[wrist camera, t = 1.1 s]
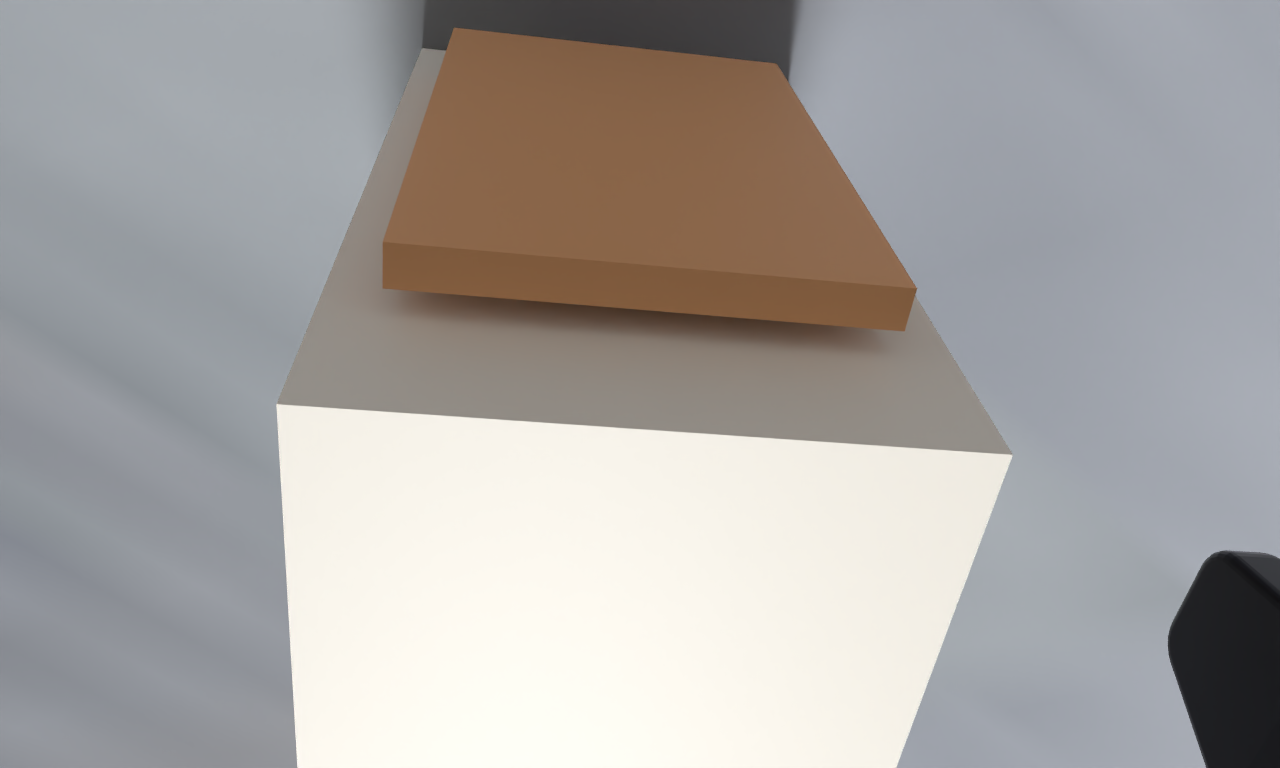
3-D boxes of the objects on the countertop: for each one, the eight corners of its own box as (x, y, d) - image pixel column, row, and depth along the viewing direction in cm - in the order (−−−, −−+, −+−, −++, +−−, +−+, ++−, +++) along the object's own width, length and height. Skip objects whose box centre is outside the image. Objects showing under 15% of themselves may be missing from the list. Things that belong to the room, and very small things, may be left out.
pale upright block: (422, -1, 11) (271, 320, 5) (797, 42, 12) (1040, 380, 6) (414, 368, 14) (303, 879, 8) (727, 391, 14) (851, 888, 8)
